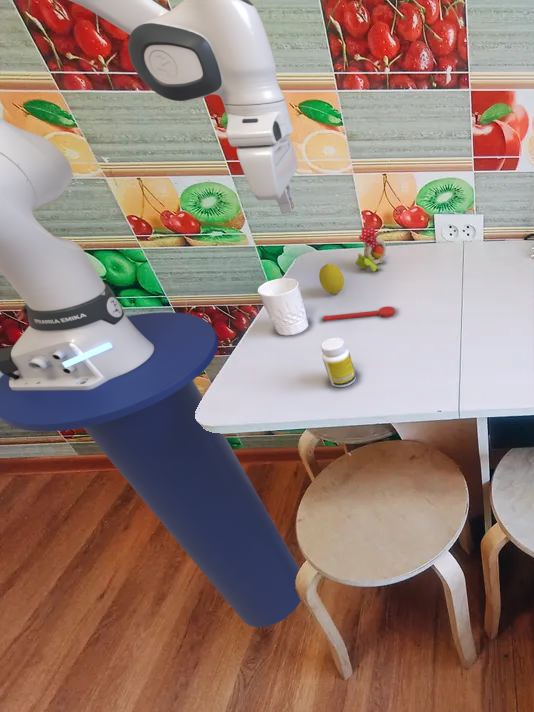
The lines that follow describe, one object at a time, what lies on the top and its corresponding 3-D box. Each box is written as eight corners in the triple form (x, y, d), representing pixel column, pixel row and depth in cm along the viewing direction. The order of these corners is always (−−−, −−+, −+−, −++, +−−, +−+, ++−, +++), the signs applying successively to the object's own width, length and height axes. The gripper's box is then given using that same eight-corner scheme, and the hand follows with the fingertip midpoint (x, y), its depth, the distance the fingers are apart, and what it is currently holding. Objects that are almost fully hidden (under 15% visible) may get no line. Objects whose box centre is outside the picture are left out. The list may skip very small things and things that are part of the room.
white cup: (278, 341, 98) (261, 299, 92) (270, 325, 104) (254, 284, 97) (315, 330, 102) (302, 289, 95) (306, 314, 107) (292, 274, 101)
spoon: (323, 323, 104) (322, 320, 103) (325, 315, 107) (324, 312, 106) (395, 316, 106) (394, 313, 106) (394, 308, 109) (394, 305, 108)
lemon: (328, 288, 117) (320, 258, 112) (350, 289, 117) (342, 258, 111) (320, 299, 112) (311, 268, 107) (343, 299, 112) (335, 269, 107)
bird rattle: (372, 268, 130) (349, 267, 122) (375, 227, 127) (352, 224, 119) (390, 272, 128) (368, 272, 120) (394, 231, 125) (371, 228, 117)
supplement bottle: (361, 378, 88) (351, 341, 83) (341, 391, 86) (329, 354, 80) (345, 369, 91) (334, 333, 85) (325, 382, 88) (312, 345, 82)
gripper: (254, 111, 81) (280, 193, 90) (222, 136, 65) (257, 232, 74) (292, 110, 82) (314, 191, 91) (269, 134, 66) (298, 229, 75)
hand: (288, 210), depth 82 cm, fingers closed
